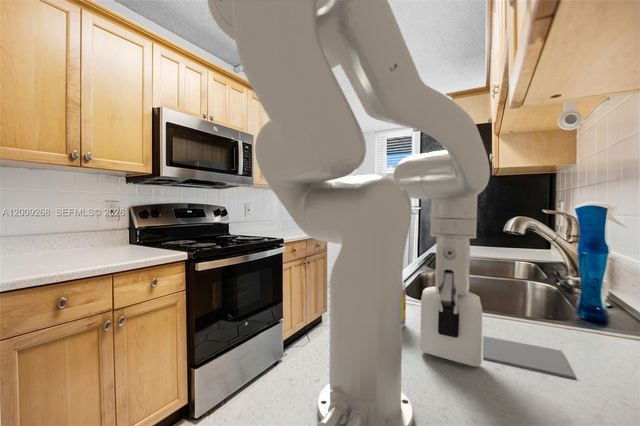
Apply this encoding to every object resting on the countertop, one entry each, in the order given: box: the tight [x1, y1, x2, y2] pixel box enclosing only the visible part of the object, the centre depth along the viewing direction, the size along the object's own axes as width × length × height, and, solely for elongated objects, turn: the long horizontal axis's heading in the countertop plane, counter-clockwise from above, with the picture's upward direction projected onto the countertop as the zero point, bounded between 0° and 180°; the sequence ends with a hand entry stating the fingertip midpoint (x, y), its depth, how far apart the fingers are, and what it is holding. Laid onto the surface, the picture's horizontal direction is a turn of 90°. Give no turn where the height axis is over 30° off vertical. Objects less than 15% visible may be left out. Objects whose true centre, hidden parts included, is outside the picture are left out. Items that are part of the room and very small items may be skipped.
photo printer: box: [419, 285, 483, 367], centre depth 54 cm, size 10×4×12 cm, turn 54°
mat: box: [482, 335, 576, 380], centre depth 56 cm, size 10×13×1 cm
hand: (449, 329), depth 54 cm, fingers closed on photo printer, 4 cm apart
